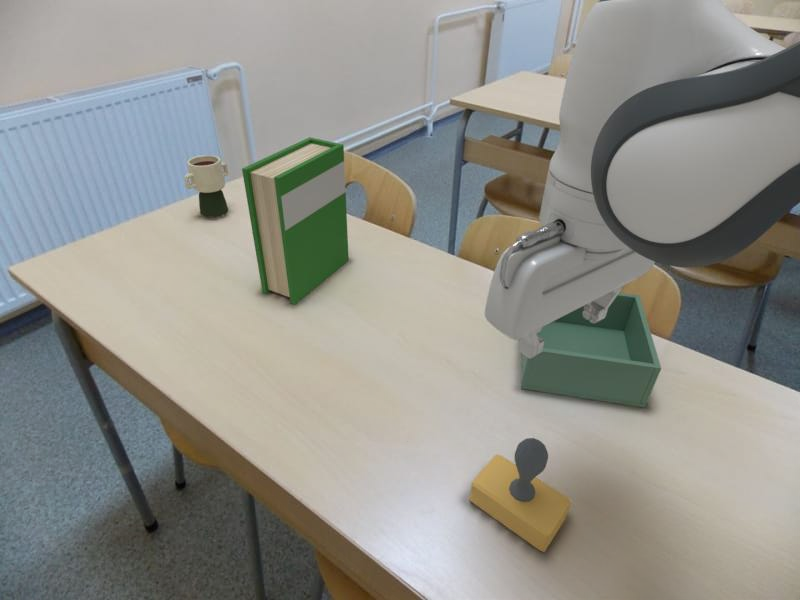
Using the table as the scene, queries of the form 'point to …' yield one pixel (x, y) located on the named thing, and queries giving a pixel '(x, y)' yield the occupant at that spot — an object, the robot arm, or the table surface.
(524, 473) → the rubber stamp
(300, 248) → the hardback book
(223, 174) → the character mug
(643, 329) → the open box
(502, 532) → the table surface
